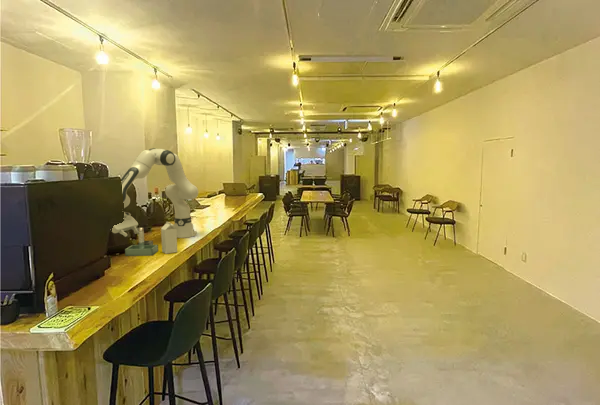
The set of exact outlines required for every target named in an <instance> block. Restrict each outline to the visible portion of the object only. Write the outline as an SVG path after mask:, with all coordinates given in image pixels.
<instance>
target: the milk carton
mask: <svg viewBox="0 0 600 405" xmlns="http://www.w3.org/2000/svg"><path fill="white" fill-rule="evenodd" d="M173 226H174V223H171V222H170V221H165V223H164V225H163V226H161V228H160V229H161V230H160V232H161V251H162V253H163V254H166V255H167V254H172V253H173V254H174V253H178V238H177V230H176V228H175V227H173Z"/></svg>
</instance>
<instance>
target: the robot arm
mask: <svg viewBox="0 0 600 405" xmlns="http://www.w3.org/2000/svg"><path fill="white" fill-rule="evenodd" d="M154 165H158V166H164V167H165V170H166V173H167V175H168V179H169V180H170V182H172V183H174V184H168V185H166V187H165V189H164V192H165V193H164V194H165V195H166V197H167V198H168V199H169V200H170V202H171V203H172V205H173V209H174V220H173V221H174V223H173V225H174V226H173V227H175V228H176V230H177V239H178V238H179V239H181V238H182V239H183V238H185V239H186V238H191V237H196V236H197V230H195V229H194V225H193V223H192V216H191V207H190V205H188V204H187V203H186V202H185V200H193V199H194V200H195V199H196V198H198V196H199V188H198V187H197V186H196V185H195V184H193V183H192V182H191V181H190V180H189V179H188V178H187V175H186V174H185V171H184V169H183V164H182V162H181V159H180V158H179V155H177V153H174V152H173V151H171V150H168V149H164V148H154V147H153V148H149V149H145V150H142V151H141V152H140V153H139V154H138V156H136V158H135V159H134V161H133V163H132V164H131V166H130V167H129V169H128V170H127V171H125V173H124V174H123V176H122V177H121V178H120V180H121V181H122V194H123V203H124V209H126V208H128V206H129V205H130V203H131V198H130V196H129V195H128V193H127V192H128V189H129V188H130V187H131V185H132V184H133V182H134V181H136V180H138V179H145V177H146V176H148V175H149V173H150V171H151V169H152V168H153V166H154ZM123 212H124V218H123V219H124V221H123V222H122V223H119V224H117V225H114V226H113V228H112V231H111V232H112V234H118V233H119V234H120V235H123V237H124V238H126V237H128V236H129V234H128V233H127V232H125V231H129V230H132V231H133V233H134V234H135V235H136V234H138V228H137V227H138V226H139V223H138V221H137V220H136V219H135V218H134V217H133V216H131V215H132V214H131V213H130V212H126V211H123Z"/></svg>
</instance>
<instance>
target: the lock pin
mask: <svg viewBox="0 0 600 405" xmlns="http://www.w3.org/2000/svg"><path fill="white" fill-rule="evenodd" d="M137 231H138V233H137V234H138V243H139V249H145V247H144V241H145V231H144V227H138V228H137Z"/></svg>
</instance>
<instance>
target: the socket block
mask: <svg viewBox="0 0 600 405" xmlns="http://www.w3.org/2000/svg"><path fill="white" fill-rule="evenodd" d="M137 245H139V242H138V243H137ZM144 245H154V241H153V240H144Z"/></svg>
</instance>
